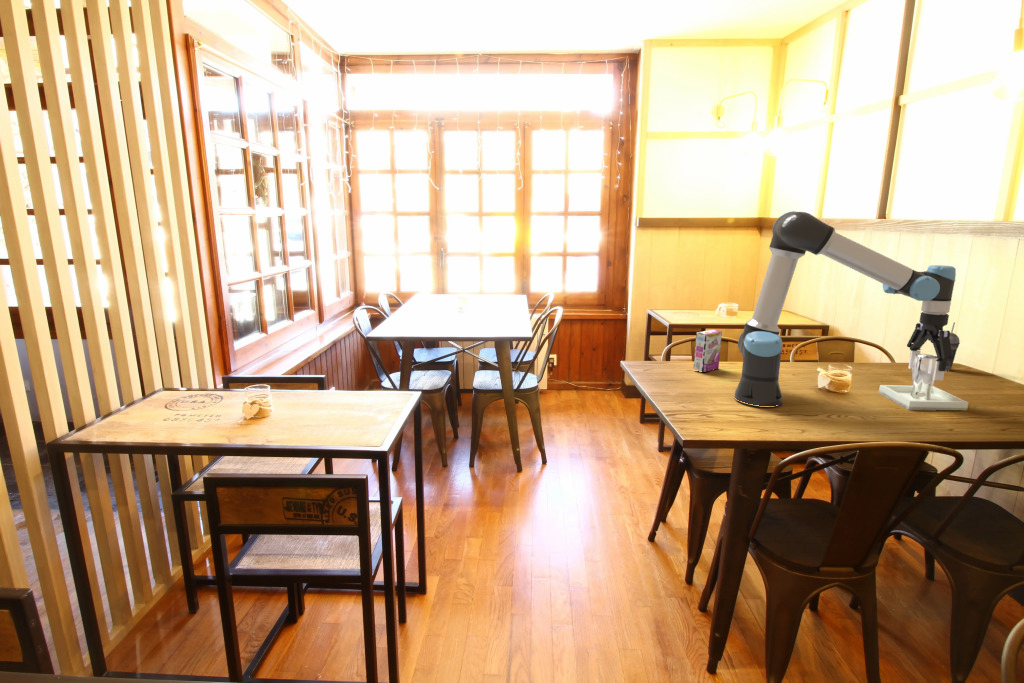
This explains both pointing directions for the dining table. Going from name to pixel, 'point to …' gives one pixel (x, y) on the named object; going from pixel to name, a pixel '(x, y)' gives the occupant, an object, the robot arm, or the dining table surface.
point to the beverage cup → (952, 347)
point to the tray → (938, 400)
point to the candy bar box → (707, 350)
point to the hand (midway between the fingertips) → (925, 374)
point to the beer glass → (923, 376)
